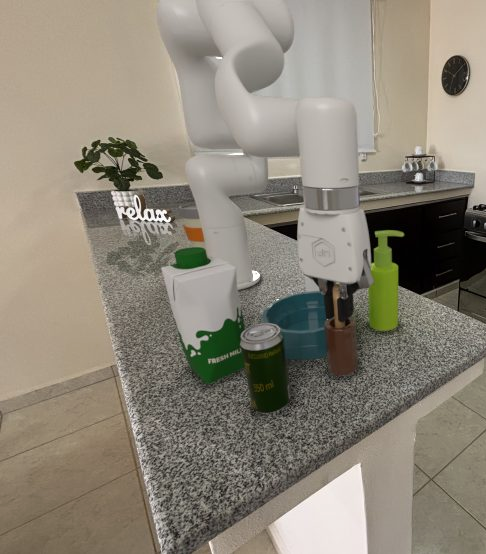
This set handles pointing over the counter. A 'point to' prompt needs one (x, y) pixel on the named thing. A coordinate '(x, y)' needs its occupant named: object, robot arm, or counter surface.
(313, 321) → the bowl
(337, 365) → the utensil cup
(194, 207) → the reusable coffee cup
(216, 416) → the counter surface
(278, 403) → the beer can
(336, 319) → the stick
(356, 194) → the robot arm
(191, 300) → the milk carton
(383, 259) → the soap dispenser
